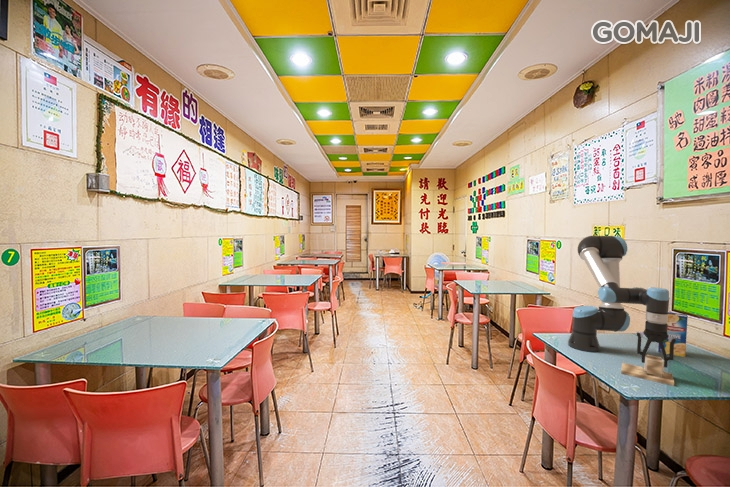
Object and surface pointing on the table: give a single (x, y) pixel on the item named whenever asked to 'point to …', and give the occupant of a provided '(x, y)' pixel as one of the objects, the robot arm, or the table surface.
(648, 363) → the block
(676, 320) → the blue food box
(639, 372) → the board
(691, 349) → the table surface
